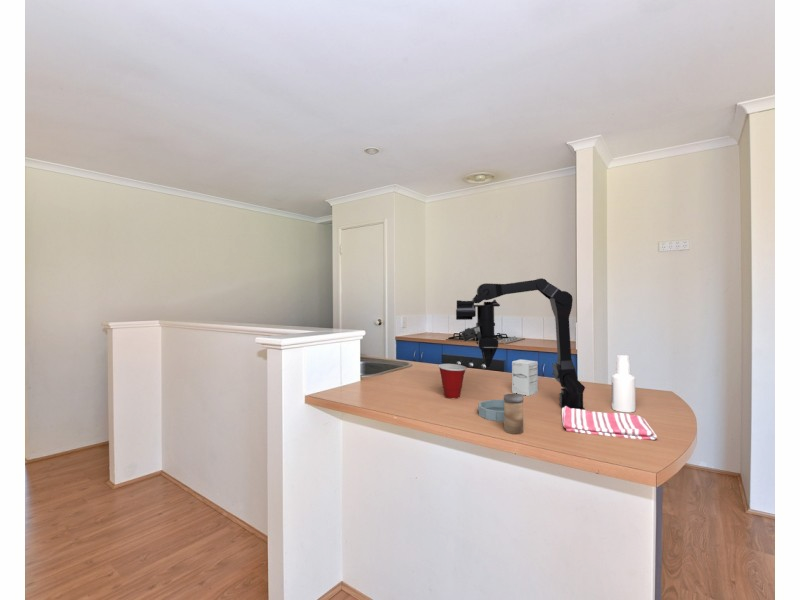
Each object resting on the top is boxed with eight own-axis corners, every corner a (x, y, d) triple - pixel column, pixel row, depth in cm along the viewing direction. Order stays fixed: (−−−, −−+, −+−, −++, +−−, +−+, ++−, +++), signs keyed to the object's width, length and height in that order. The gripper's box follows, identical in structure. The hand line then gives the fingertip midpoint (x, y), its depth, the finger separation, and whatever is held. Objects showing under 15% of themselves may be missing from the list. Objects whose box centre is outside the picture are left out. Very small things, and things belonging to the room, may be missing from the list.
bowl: (517, 408, 133) (517, 400, 133) (525, 421, 120) (525, 412, 120) (477, 408, 135) (477, 399, 135) (480, 420, 121) (480, 411, 121)
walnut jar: (521, 428, 114) (521, 394, 114) (525, 434, 109) (524, 399, 109) (502, 427, 115) (502, 393, 115) (505, 434, 110) (505, 398, 110)
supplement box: (511, 393, 154) (511, 361, 153) (521, 389, 159) (521, 358, 158) (528, 396, 148) (528, 363, 148) (538, 393, 153) (538, 360, 153)
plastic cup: (466, 401, 144) (466, 368, 143) (437, 400, 146) (436, 367, 146) (467, 393, 154) (467, 363, 154) (440, 392, 156) (439, 362, 156)
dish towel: (561, 415, 127) (561, 404, 127) (644, 423, 118) (644, 411, 118) (563, 433, 111) (563, 421, 111) (659, 443, 103) (659, 430, 102)
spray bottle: (631, 407, 132) (631, 354, 132) (638, 413, 126) (638, 357, 125) (609, 406, 134) (609, 353, 134) (614, 412, 128) (614, 357, 127)
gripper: (461, 318, 146) (462, 359, 147) (463, 321, 128) (463, 369, 128) (491, 317, 145) (492, 359, 145) (498, 321, 126) (498, 369, 127)
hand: (486, 364), depth 136 cm, fingers open, 9 cm apart
